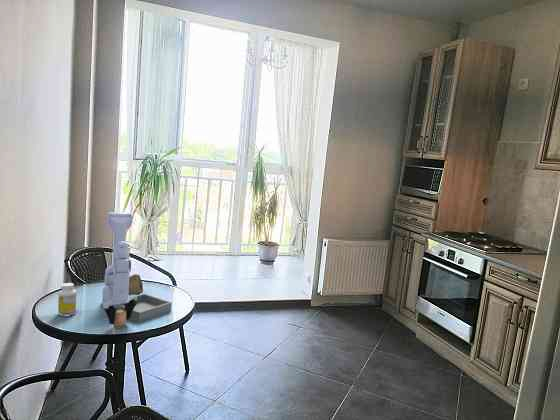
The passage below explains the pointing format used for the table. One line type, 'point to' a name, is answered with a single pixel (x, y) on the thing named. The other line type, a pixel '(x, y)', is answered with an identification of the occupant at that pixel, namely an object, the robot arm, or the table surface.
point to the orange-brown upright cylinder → (120, 319)
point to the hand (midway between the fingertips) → (119, 321)
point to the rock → (135, 284)
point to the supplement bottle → (67, 299)
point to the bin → (147, 307)
